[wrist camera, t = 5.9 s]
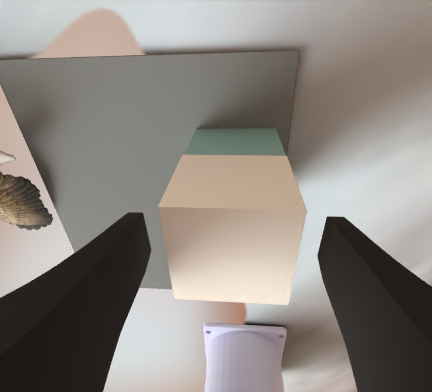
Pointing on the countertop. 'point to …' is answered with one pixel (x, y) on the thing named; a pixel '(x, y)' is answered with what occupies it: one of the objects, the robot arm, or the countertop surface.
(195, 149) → the teal brick
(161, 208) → the cream brick
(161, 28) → the countertop surface
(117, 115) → the build mat
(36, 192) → the eagle figurine
